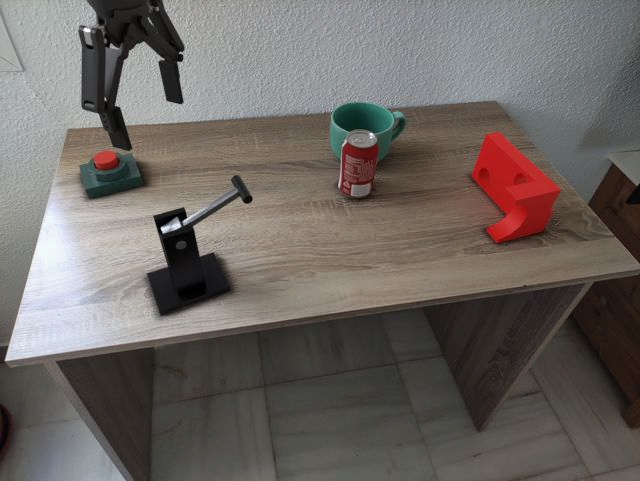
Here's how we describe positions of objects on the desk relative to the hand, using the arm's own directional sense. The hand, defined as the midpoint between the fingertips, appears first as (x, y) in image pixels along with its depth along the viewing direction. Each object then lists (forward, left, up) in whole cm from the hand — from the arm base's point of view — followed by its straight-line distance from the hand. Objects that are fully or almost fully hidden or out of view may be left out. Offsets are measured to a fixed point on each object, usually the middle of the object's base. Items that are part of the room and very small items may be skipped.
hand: (150, 123), depth 70 cm
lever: (+3, -16, -7) cm, 18 cm away
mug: (+42, +3, -20) cm, 47 cm away
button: (-8, +16, -16) cm, 24 cm away
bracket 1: (-2, -16, -20) cm, 25 cm away
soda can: (+34, -6, -20) cm, 40 cm away
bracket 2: (+56, -21, -20) cm, 63 cm away
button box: (-8, +16, -20) cm, 26 cm away
